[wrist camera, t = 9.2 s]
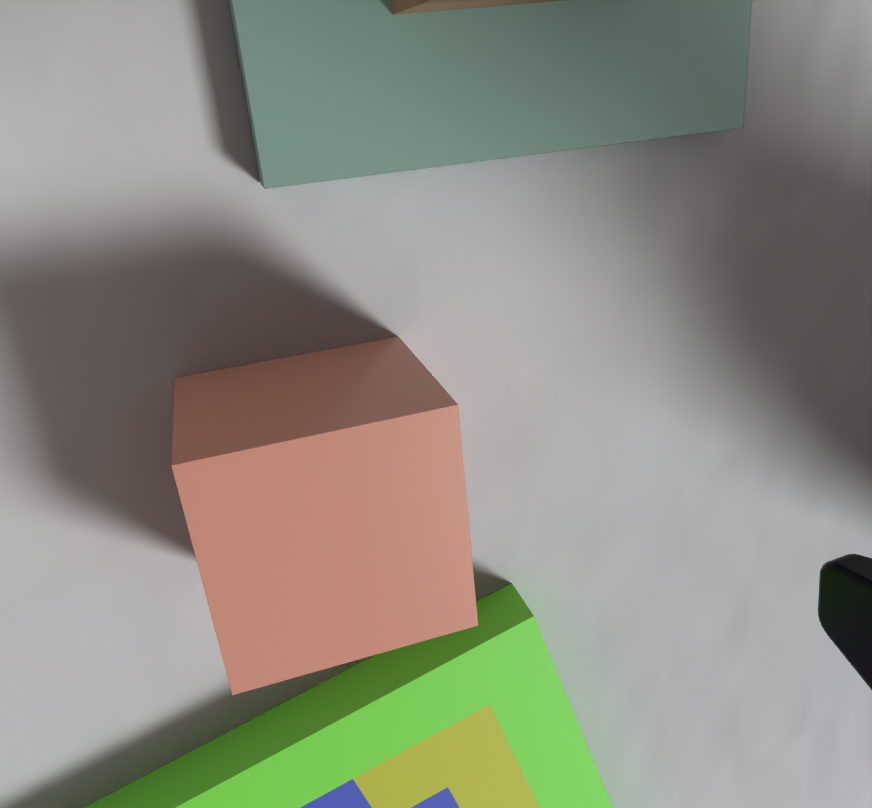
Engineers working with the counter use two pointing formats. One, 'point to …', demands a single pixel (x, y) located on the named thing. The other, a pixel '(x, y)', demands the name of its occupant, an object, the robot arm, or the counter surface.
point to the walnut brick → (450, 4)
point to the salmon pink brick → (324, 508)
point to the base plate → (479, 80)
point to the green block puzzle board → (403, 734)
